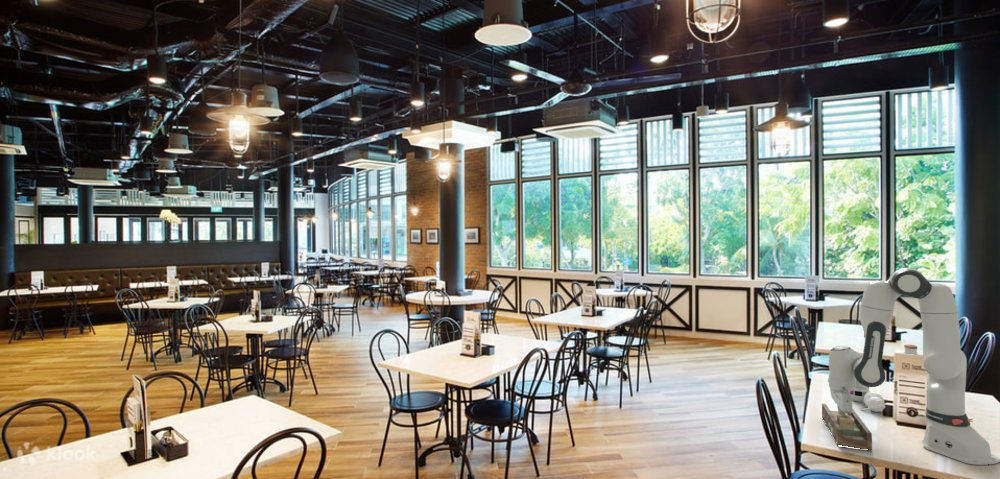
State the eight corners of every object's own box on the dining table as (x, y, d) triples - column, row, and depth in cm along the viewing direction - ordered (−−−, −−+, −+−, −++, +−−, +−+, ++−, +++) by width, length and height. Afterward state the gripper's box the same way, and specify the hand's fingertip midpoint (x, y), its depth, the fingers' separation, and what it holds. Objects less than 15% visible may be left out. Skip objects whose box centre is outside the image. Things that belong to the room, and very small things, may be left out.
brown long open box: (822, 418, 227) (821, 403, 227) (851, 421, 222) (850, 405, 222) (838, 447, 197) (838, 429, 197) (872, 451, 193) (871, 433, 193)
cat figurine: (879, 394, 229) (874, 386, 240) (855, 403, 234) (852, 395, 244) (892, 411, 227) (887, 402, 238) (868, 420, 232) (864, 411, 242)
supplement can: (845, 399, 251) (844, 369, 251) (855, 396, 254) (854, 367, 254) (862, 403, 244) (862, 373, 243) (872, 401, 247) (872, 370, 247)
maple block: (837, 423, 211) (837, 414, 211) (851, 425, 209) (851, 415, 209) (839, 428, 206) (839, 418, 206) (854, 429, 204) (854, 419, 204)
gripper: (856, 392, 203) (857, 426, 204) (843, 378, 222) (844, 409, 222) (838, 391, 206) (839, 424, 206) (827, 377, 225) (827, 407, 225)
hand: (841, 416), depth 214 cm, fingers closed
